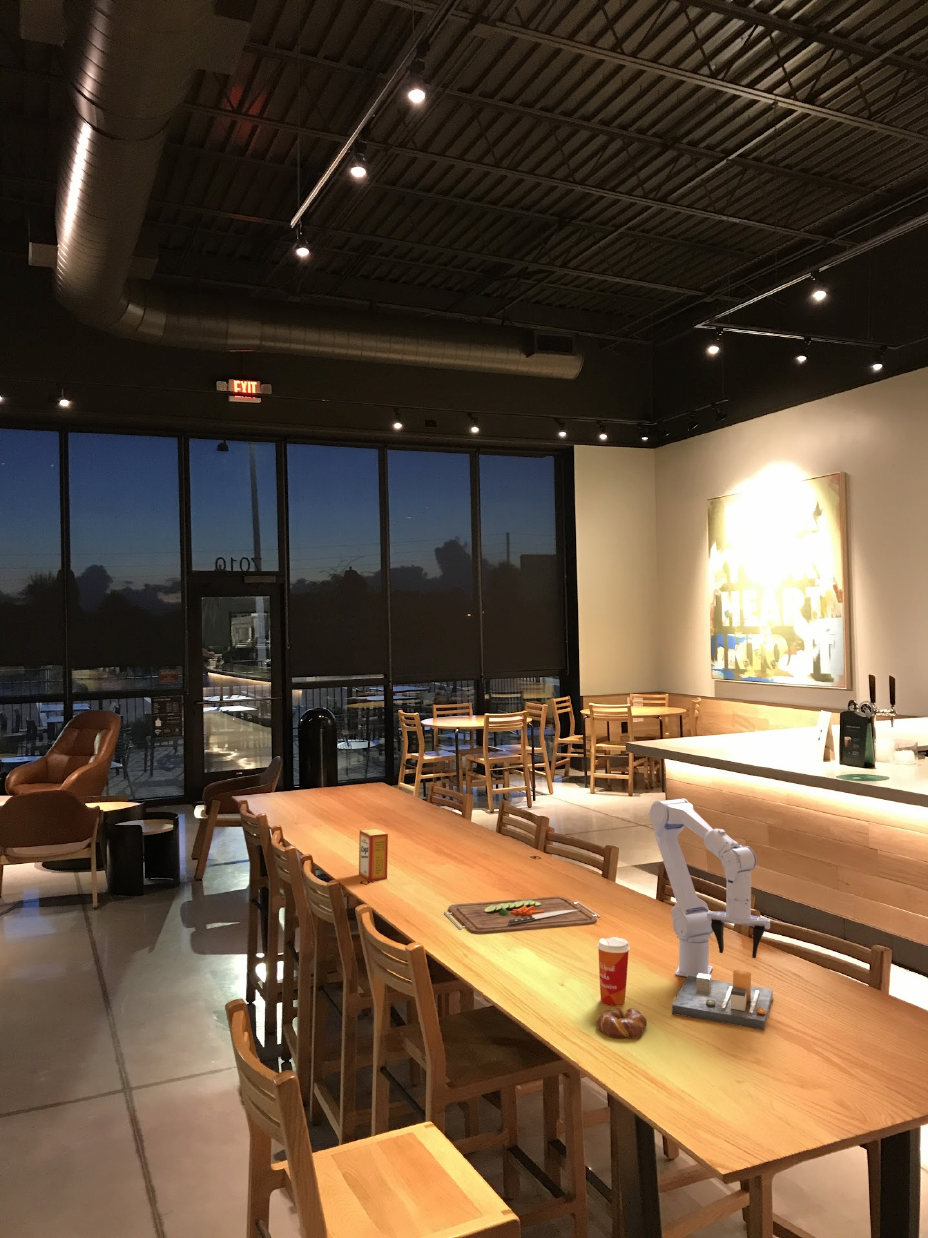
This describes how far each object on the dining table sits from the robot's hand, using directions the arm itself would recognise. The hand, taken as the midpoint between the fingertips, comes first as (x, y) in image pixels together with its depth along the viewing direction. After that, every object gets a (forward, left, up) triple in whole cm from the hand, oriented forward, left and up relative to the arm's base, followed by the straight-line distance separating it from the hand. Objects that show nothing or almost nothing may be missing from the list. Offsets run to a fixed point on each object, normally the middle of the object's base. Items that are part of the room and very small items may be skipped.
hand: (737, 954), depth 225 cm
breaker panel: (+9, -2, -9) cm, 13 cm away
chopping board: (-35, -68, -10) cm, 77 cm away
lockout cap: (+8, +2, -7) cm, 11 cm away
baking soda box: (-53, -130, -10) cm, 141 cm away
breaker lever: (+14, +2, -7) cm, 16 cm away
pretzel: (+32, -21, -10) cm, 39 cm away
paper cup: (+18, -26, -10) cm, 33 cm away
